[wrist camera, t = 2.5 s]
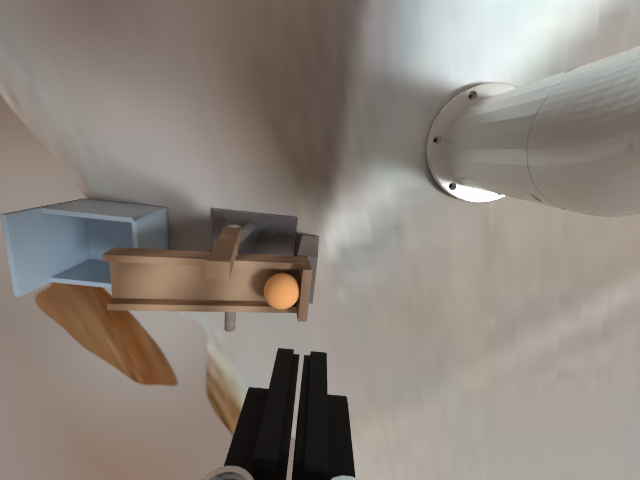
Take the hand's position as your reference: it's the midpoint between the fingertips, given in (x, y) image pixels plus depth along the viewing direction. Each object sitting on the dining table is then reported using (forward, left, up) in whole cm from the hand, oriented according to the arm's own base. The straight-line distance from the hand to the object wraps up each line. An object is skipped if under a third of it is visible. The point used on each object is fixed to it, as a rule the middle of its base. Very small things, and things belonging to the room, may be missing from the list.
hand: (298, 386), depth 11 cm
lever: (+9, +4, -18) cm, 21 cm away
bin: (+23, +4, -28) cm, 36 cm away
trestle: (+6, +4, -28) cm, 29 cm away
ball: (+2, +4, -17) cm, 17 cm away
